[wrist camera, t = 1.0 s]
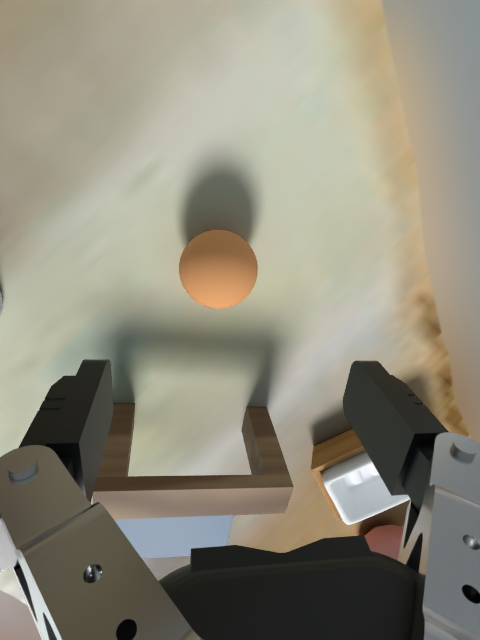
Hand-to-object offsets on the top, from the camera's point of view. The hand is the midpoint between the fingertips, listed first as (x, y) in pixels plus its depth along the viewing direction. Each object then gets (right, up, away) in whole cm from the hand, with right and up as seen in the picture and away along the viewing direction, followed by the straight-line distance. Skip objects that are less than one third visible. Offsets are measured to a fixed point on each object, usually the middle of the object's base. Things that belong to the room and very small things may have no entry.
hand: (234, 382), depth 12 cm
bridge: (-4, -7, +23) cm, 25 cm away
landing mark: (-7, -21, +30) cm, 37 cm away
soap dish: (+14, -12, +30) cm, 35 cm away
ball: (-1, +6, +14) cm, 15 cm away
